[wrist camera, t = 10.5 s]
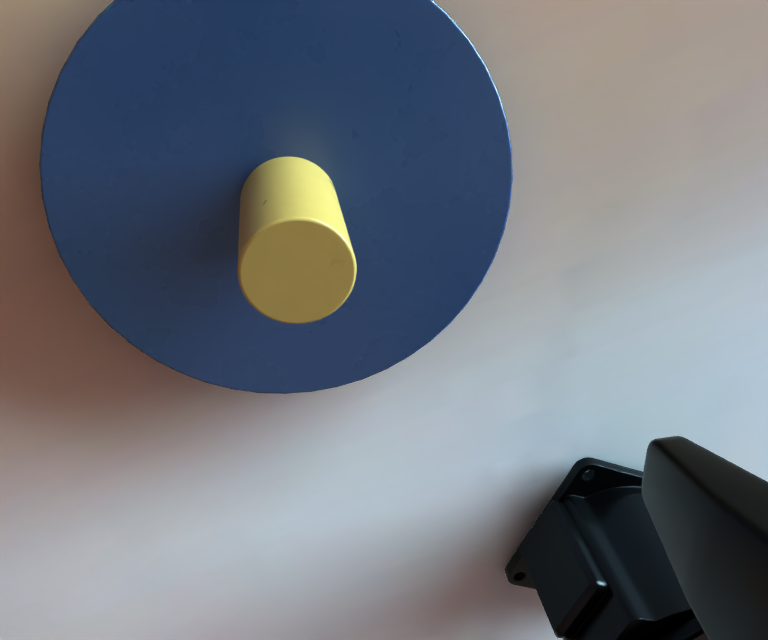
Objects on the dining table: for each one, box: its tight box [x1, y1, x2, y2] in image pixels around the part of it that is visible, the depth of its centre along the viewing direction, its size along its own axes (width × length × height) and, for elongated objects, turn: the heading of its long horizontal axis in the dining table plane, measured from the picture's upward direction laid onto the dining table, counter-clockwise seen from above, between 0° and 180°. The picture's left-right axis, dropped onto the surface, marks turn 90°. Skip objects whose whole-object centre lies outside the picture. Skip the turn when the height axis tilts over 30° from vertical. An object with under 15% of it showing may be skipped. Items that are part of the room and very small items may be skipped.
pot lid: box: [40, 0, 513, 394], centre depth 18 cm, size 13×13×6 cm
